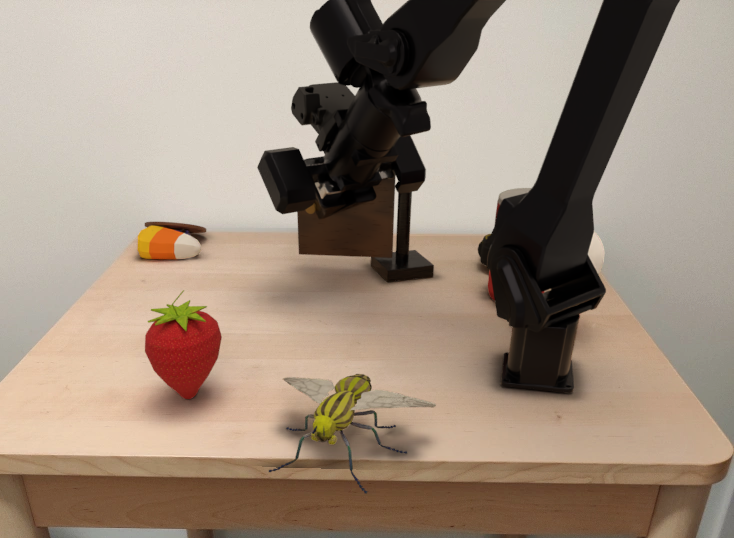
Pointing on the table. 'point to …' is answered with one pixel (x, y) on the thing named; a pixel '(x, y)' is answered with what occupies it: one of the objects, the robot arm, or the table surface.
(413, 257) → the door post
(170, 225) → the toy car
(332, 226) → the door
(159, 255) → the candy corn
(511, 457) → the table surface
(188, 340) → the strawberry
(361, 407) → the insect
